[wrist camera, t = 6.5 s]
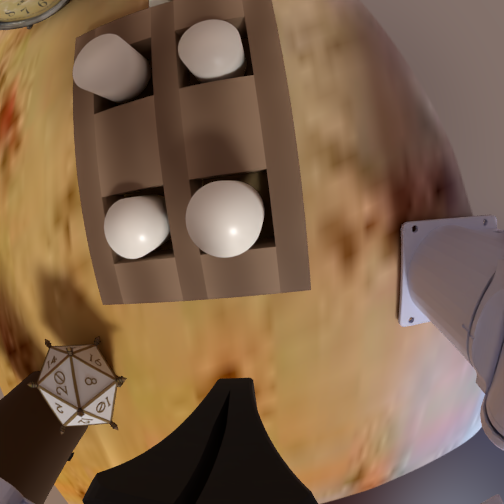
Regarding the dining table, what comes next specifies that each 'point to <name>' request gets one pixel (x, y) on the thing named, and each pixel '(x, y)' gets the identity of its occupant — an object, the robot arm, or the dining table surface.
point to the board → (192, 157)
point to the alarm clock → (27, 12)
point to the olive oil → (33, 441)
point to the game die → (78, 385)
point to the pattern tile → (157, 2)
